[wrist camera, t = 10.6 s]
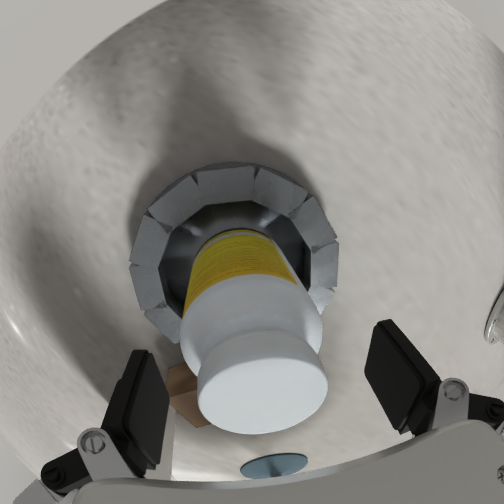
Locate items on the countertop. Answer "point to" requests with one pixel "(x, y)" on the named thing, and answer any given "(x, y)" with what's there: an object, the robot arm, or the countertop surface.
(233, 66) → the countertop surface
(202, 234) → the collar
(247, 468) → the cocktail glass
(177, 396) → the walnut block
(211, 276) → the pill bottle
